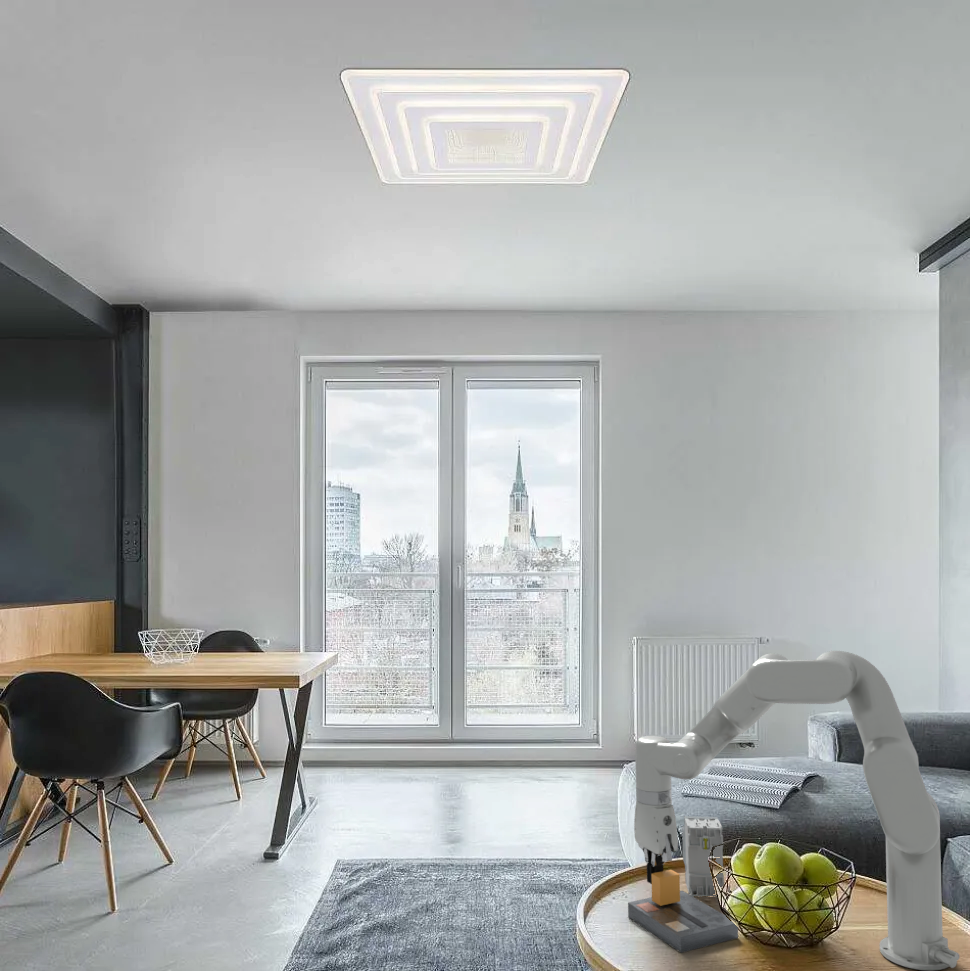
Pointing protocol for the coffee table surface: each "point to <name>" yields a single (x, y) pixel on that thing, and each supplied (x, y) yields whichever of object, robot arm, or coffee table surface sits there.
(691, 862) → the circuit breaker
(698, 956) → the coffee table surface
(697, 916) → the panel
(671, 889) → the block
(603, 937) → the coffee table surface
